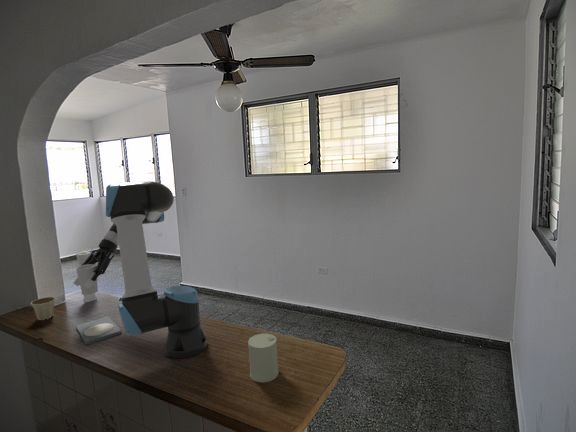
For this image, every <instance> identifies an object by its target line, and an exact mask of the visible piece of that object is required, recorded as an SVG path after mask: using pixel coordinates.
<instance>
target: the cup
mask: <svg viewBox="0 0 576 432" xmlns="http://www.w3.org/2000/svg"><path fill="white" fill-rule="evenodd" d="M96 267H97V263H96V264H88V265H83V266H79V265H78V266H77V267H76V268H75V270H76V274H77V276H78V278H79V283H80V285H79V287H80V290H81V295H83V296H84V295H89V294H93V293H95V294H96V293H98V291H99V290H98V278H97V279H96V281H95V282H94V283H93V285H92V286H91V288H90V289H89V288H87V287H86V286H84V285H85V284H86V282H87V281H88V279H89V278H90V276H91V275H92V273H93V272H94V271H95V270H96ZM94 273H95V272H94Z"/></svg>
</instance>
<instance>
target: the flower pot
mask: <svg viewBox="0 0 576 432" xmlns="http://www.w3.org/2000/svg"><path fill="white" fill-rule="evenodd" d="M55 300H56V297H54V296H47V297H41V298H38V299H34V300H32V301H31V302H30V305H31V307H32V308H33V309H34V313H35V316H36V320H37V319H38V320H37V321H39V320H41V321H46V320H45V319H47V320H49V319H48V318H50V319H51V317H52V316H53V317H54V309H55V308H54V307H55V306H54V304H55ZM53 317H52V318H53Z"/></svg>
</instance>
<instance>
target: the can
mask: <svg viewBox="0 0 576 432" xmlns="http://www.w3.org/2000/svg"><path fill="white" fill-rule="evenodd" d="M277 341H278V339H277V337H276V336H275V335H273V334H271V333H258V334H255V335H253V336H251V337H250V338H249V339H248V342H247V344H248V356H249V377H250V379H251V380H253V381H254V382H257V383H268V382H272V381H273V380H275V379H276V378H277V377H278V376H279V372H280V371H279V366H278V349H277V347H278V345H277Z"/></svg>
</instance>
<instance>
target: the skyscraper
mask: <svg viewBox="0 0 576 432" xmlns="http://www.w3.org/2000/svg"><path fill="white" fill-rule="evenodd" d="M87 249H91V251H88V250H87ZM92 251H94V250H93V247H85V248H83V250H82V251H80V252H78V253H76V254H75V255H76V256H75V257H76V259H77V262H78V267H79V266H81V265H82V264H83V263H84V262H85V261H86V259H87V258H88V257H89V256H90V254H91V253H92ZM96 300H98V297H97V296H96V293H93V294H89V295H83V301H84V302H85V303H90V302H92V301H96Z"/></svg>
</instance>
